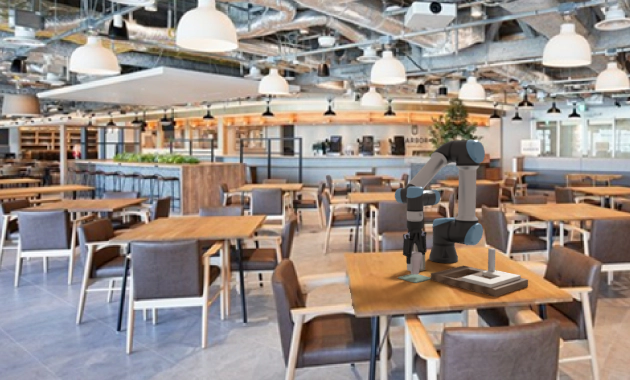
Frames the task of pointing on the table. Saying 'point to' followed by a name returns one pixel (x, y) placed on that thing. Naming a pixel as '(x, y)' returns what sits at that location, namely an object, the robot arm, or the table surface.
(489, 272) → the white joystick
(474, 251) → the table surface
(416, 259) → the smoothie
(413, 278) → the mat
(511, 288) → the brown tray
